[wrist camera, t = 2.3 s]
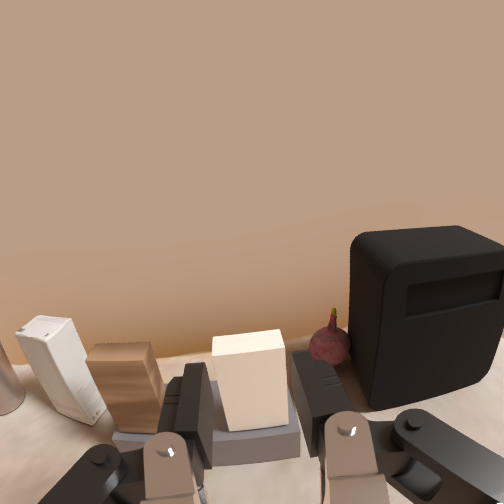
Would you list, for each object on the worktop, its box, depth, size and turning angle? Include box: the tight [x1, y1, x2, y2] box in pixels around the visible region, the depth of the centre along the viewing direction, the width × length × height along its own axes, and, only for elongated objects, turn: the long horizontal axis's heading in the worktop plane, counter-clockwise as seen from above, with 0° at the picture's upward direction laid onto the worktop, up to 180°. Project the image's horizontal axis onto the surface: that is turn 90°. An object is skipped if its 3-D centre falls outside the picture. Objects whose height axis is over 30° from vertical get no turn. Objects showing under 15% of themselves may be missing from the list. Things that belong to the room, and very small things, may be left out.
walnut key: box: [85, 342, 166, 434], centre depth 26 cm, size 3×6×10 cm, turn 95°
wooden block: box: [212, 329, 289, 431], centre depth 26 cm, size 3×6×10 cm, turn 95°
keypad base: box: [112, 381, 300, 466], centre depth 31 cm, size 10×20×5 cm, turn 95°
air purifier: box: [348, 226, 504, 410], centre depth 35 cm, size 20×15×20 cm
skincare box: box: [15, 315, 107, 426], centre depth 33 cm, size 8×6×15 cm
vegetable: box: [309, 308, 351, 366], centre depth 41 cm, size 6×6×10 cm
